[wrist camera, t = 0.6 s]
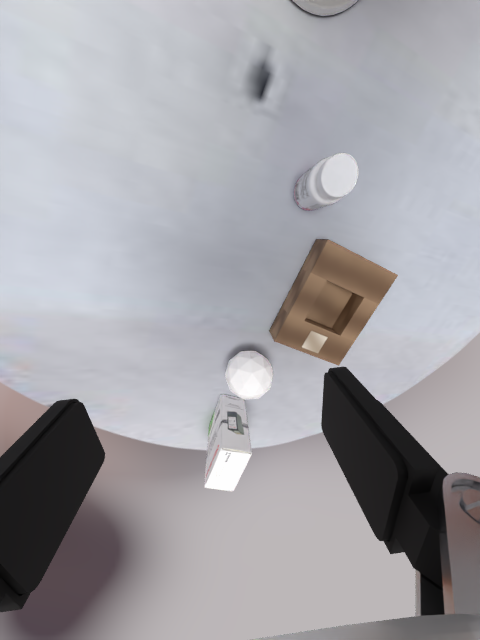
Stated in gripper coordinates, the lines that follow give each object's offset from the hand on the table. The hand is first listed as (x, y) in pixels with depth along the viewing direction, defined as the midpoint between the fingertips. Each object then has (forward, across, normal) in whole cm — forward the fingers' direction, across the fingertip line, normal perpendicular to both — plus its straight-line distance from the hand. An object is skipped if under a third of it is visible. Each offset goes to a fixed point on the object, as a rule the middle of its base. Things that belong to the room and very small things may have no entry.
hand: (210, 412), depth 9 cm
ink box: (+27, +2, +26) cm, 38 cm away
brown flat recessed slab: (+27, -16, +5) cm, 32 cm away
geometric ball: (+27, -3, +15) cm, 31 cm away
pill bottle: (+28, -14, -11) cm, 33 cm away
